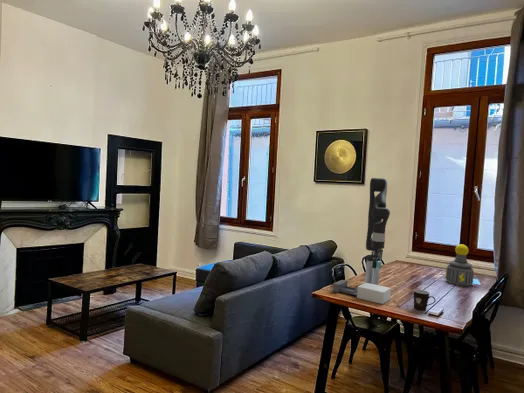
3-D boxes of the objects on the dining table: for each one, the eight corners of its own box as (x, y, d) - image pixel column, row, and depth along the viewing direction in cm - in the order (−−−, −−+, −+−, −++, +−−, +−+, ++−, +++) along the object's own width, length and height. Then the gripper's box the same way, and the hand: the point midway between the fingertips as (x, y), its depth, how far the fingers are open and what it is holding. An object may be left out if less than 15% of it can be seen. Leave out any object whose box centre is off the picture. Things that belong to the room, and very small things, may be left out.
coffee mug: (408, 306, 223) (410, 289, 222) (420, 305, 226) (421, 289, 225) (423, 313, 212) (425, 295, 212) (435, 312, 215) (437, 295, 215)
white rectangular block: (364, 293, 244) (365, 282, 244) (389, 299, 235) (390, 288, 235) (356, 297, 233) (357, 286, 233) (382, 304, 224) (383, 292, 224)
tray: (341, 287, 254) (342, 279, 253) (368, 293, 243) (369, 285, 243) (332, 291, 242) (333, 283, 242) (360, 298, 232) (361, 289, 231)
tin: (372, 265, 238) (373, 259, 238) (382, 267, 234) (383, 261, 234) (369, 267, 233) (370, 260, 233) (379, 268, 229) (379, 262, 229)
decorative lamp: (447, 284, 287) (451, 244, 286) (443, 278, 305) (446, 241, 304) (475, 287, 281) (479, 247, 280) (469, 281, 299) (473, 244, 298)
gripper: (376, 238, 241) (373, 264, 242) (368, 240, 229) (365, 267, 230) (388, 240, 237) (385, 266, 237) (380, 242, 225) (378, 270, 225)
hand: (376, 267), depth 233 cm, fingers closed on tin, 6 cm apart
